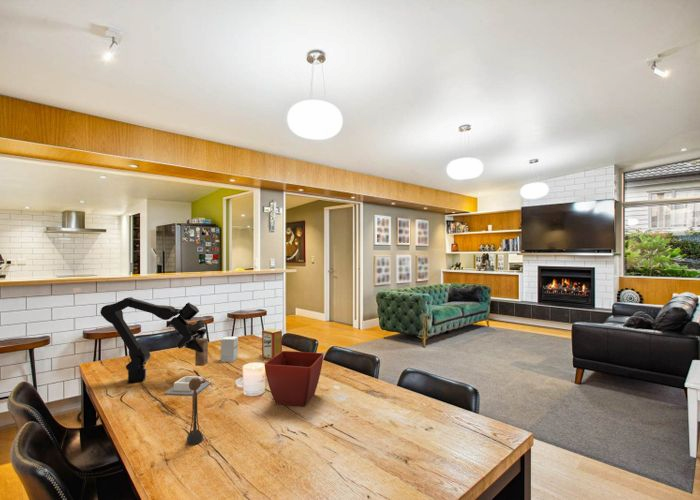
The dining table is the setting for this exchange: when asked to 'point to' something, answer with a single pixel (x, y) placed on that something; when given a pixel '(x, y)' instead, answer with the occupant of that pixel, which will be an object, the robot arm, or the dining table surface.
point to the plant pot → (293, 376)
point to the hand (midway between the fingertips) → (204, 350)
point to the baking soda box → (271, 343)
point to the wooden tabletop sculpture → (195, 434)
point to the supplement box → (229, 349)
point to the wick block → (202, 357)
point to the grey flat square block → (185, 386)
